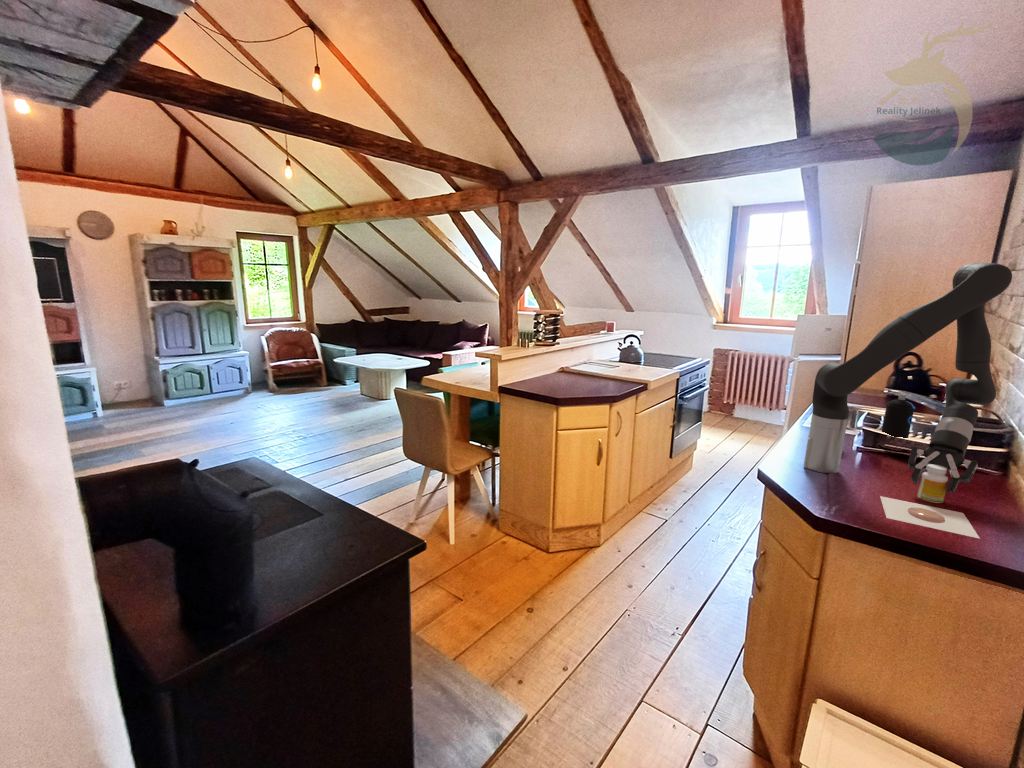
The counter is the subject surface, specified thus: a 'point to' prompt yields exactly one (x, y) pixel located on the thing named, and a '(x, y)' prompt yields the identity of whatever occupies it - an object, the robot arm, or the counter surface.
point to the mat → (951, 523)
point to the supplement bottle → (933, 484)
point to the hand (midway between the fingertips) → (931, 486)
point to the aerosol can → (898, 417)
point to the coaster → (926, 514)
